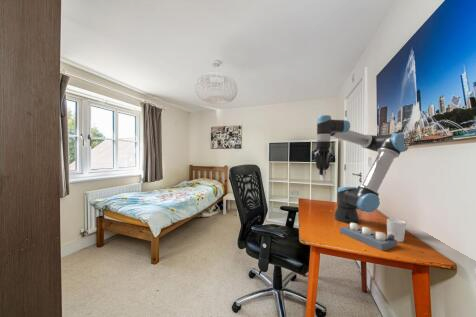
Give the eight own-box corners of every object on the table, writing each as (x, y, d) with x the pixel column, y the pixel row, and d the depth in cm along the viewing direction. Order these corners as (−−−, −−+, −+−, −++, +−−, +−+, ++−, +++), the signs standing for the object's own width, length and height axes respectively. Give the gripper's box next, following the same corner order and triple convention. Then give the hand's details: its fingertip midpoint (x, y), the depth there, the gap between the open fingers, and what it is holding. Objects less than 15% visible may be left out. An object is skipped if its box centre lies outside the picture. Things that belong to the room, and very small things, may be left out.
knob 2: (378, 240, 98) (378, 231, 98) (387, 244, 94) (387, 234, 94) (373, 242, 97) (373, 232, 96) (382, 245, 93) (382, 235, 93)
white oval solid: (364, 235, 105) (365, 226, 104) (372, 238, 101) (372, 229, 101) (360, 236, 103) (360, 227, 103) (367, 239, 99) (367, 230, 99)
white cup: (405, 239, 102) (406, 220, 102) (404, 244, 97) (405, 224, 97) (387, 235, 108) (387, 217, 108) (385, 239, 102) (385, 220, 102)
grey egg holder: (354, 230, 114) (354, 219, 114) (396, 246, 94) (396, 233, 94) (340, 232, 110) (340, 222, 110) (381, 250, 89) (381, 237, 89)
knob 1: (352, 230, 111) (353, 222, 111) (359, 233, 107) (359, 224, 107) (348, 231, 109) (348, 223, 109) (354, 234, 106) (355, 225, 106)
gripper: (326, 142, 121) (325, 179, 122) (310, 141, 116) (309, 179, 117) (336, 141, 114) (335, 180, 115) (320, 140, 109) (319, 181, 110)
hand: (322, 180), depth 116 cm, fingers closed
